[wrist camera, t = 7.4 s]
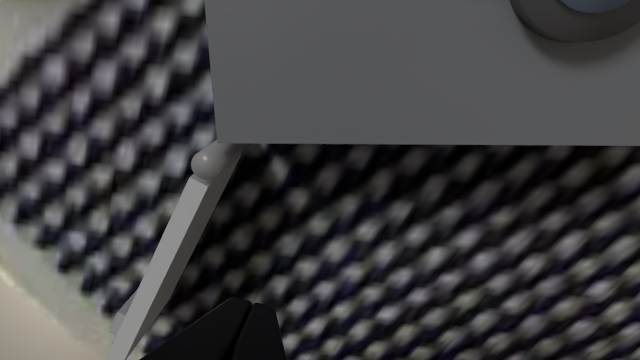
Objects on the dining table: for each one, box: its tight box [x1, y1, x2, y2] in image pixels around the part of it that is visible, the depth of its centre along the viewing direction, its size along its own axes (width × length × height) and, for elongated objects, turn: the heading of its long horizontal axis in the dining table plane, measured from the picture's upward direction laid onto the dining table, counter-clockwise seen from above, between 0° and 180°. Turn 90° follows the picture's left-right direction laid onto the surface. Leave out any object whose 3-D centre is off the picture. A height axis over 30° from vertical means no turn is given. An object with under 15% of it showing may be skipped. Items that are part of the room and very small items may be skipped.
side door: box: [107, 140, 250, 360], centre depth 17 cm, size 10×2×5 cm, turn 151°
